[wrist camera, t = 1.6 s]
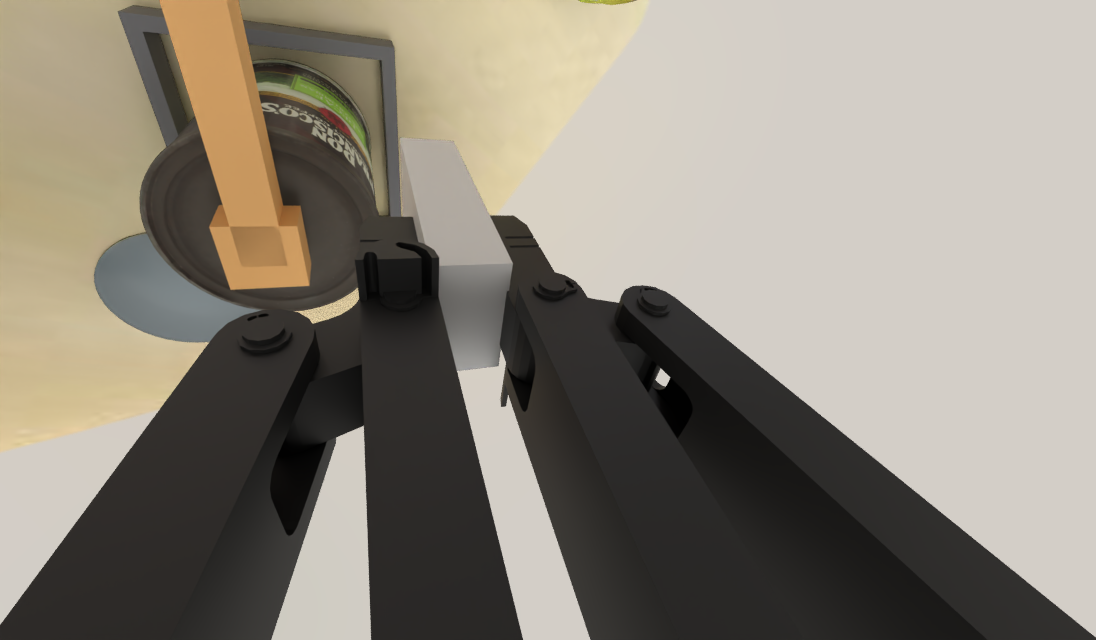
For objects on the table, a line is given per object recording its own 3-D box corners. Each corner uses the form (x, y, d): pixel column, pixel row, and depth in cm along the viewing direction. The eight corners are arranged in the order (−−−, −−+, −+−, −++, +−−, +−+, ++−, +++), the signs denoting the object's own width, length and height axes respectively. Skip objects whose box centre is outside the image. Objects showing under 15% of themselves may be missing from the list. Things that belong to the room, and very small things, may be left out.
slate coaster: (130, 346, 38) (129, 348, 38) (65, 232, 31) (63, 234, 31) (277, 333, 42) (276, 336, 42) (248, 230, 35) (247, 232, 35)
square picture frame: (208, 225, 34) (201, 241, 32) (133, 5, 25) (117, 11, 23) (399, 224, 39) (402, 238, 37) (391, 40, 30) (394, 47, 28)
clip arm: (237, 265, 22) (228, 297, 20) (62, -288, 11) (9, -328, 9) (311, 263, 23) (308, 293, 21) (214, -241, 12) (191, -269, 11)
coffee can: (263, 18, 27) (218, 71, 18) (399, 137, 34) (421, 224, 24) (174, 138, 30) (90, 245, 20) (317, 227, 37) (308, 339, 27)
